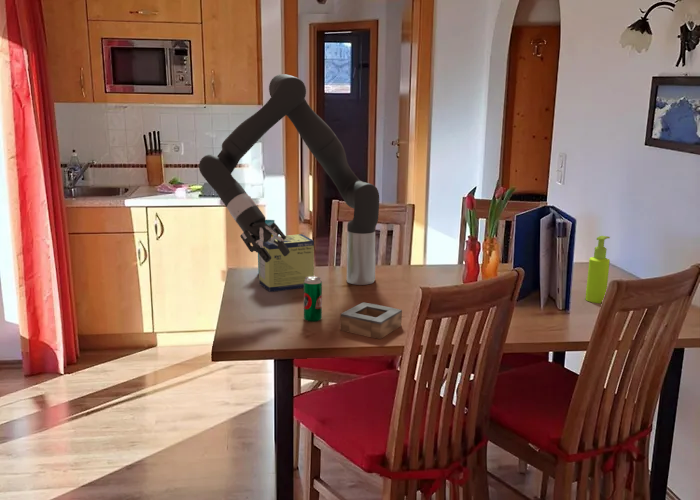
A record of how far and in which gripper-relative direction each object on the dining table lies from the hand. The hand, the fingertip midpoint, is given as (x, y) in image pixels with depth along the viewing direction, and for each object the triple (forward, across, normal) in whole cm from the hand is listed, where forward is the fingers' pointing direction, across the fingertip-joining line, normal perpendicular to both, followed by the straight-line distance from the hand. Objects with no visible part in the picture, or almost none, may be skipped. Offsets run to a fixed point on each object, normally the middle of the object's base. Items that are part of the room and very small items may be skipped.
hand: (278, 257), depth 192 cm
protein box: (+2, +23, +22) cm, 32 cm away
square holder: (+32, +3, -9) cm, 33 cm away
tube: (-8, +30, +32) cm, 44 cm away
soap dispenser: (+64, +63, -41) cm, 99 cm away
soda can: (+20, 0, +3) cm, 20 cm away
